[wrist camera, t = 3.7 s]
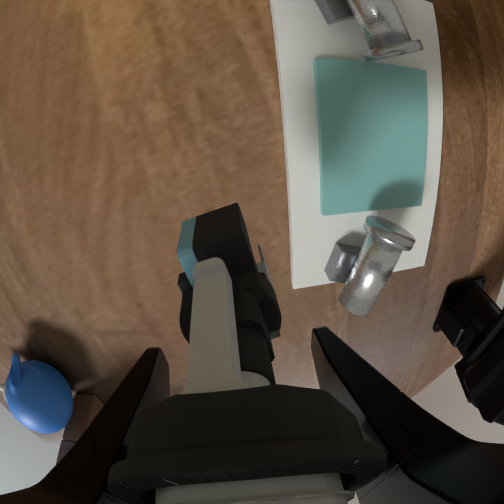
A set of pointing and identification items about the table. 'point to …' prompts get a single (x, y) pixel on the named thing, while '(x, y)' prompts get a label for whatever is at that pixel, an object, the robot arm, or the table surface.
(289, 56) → the white rectangular board
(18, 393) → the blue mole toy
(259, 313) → the push button
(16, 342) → the table surface
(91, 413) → the wooden block
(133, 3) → the table surface
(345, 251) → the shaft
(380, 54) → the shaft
